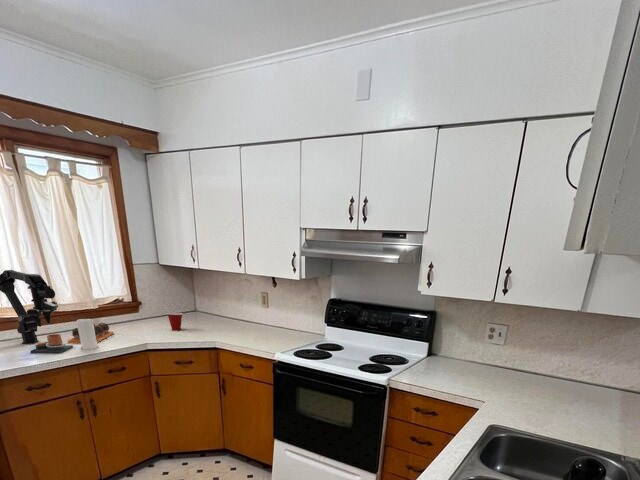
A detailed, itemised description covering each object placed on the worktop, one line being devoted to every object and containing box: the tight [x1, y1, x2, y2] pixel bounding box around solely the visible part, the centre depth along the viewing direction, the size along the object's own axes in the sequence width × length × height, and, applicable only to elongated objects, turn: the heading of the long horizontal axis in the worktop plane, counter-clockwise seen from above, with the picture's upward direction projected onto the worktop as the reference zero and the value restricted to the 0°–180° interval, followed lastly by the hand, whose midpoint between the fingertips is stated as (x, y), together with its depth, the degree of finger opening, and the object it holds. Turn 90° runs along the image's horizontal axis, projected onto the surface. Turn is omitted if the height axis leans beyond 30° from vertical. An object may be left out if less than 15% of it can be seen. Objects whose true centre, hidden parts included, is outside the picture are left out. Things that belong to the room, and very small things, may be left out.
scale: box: [29, 344, 74, 355], centre depth 241 cm, size 16×14×3 cm
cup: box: [76, 318, 98, 350], centre depth 247 cm, size 8×8×16 cm
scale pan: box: [43, 341, 66, 347], centre depth 241 cm, size 14×11×1 cm
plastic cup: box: [166, 311, 184, 332], centre depth 300 cm, size 11×11×12 cm
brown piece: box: [67, 322, 115, 344], centre depth 270 cm, size 28×17×8 cm, turn 4°
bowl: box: [46, 333, 63, 345], centre depth 239 cm, size 7×7×5 cm
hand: (44, 325), depth 247 cm, fingers open, 9 cm apart
